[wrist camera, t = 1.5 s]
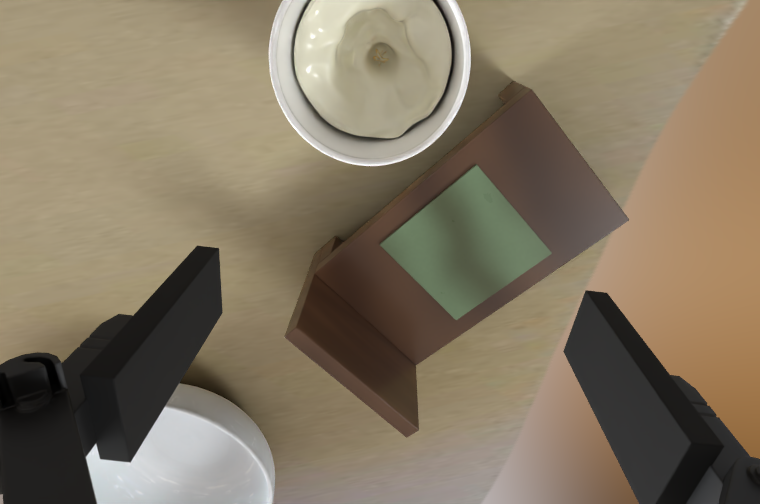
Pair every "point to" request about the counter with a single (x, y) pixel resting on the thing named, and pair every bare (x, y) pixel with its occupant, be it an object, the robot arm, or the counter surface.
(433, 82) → the candle holder
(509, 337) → the counter surface
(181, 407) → the serving bowl
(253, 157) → the counter surface
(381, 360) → the wooden display stand
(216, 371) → the counter surface
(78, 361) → the robot arm
